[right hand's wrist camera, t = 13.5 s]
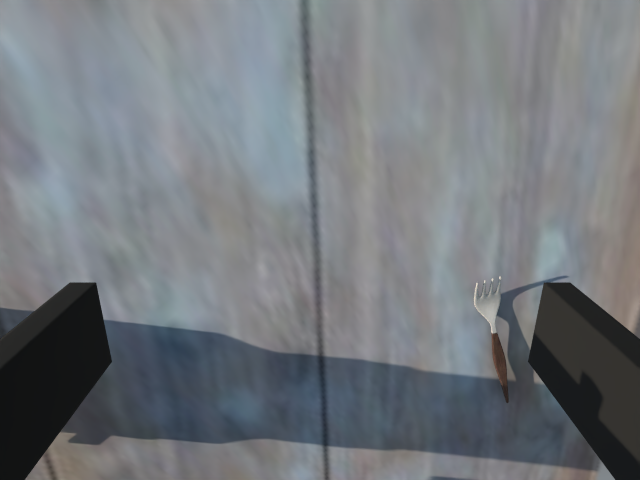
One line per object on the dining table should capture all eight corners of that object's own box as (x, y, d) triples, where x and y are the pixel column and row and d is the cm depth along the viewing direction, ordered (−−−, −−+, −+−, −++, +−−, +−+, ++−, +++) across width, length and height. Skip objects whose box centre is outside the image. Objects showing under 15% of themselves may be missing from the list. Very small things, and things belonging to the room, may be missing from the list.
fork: (493, 402, 47) (500, 415, 45) (467, 274, 42) (474, 283, 40) (517, 396, 47) (525, 409, 45) (495, 267, 41) (503, 276, 39)
